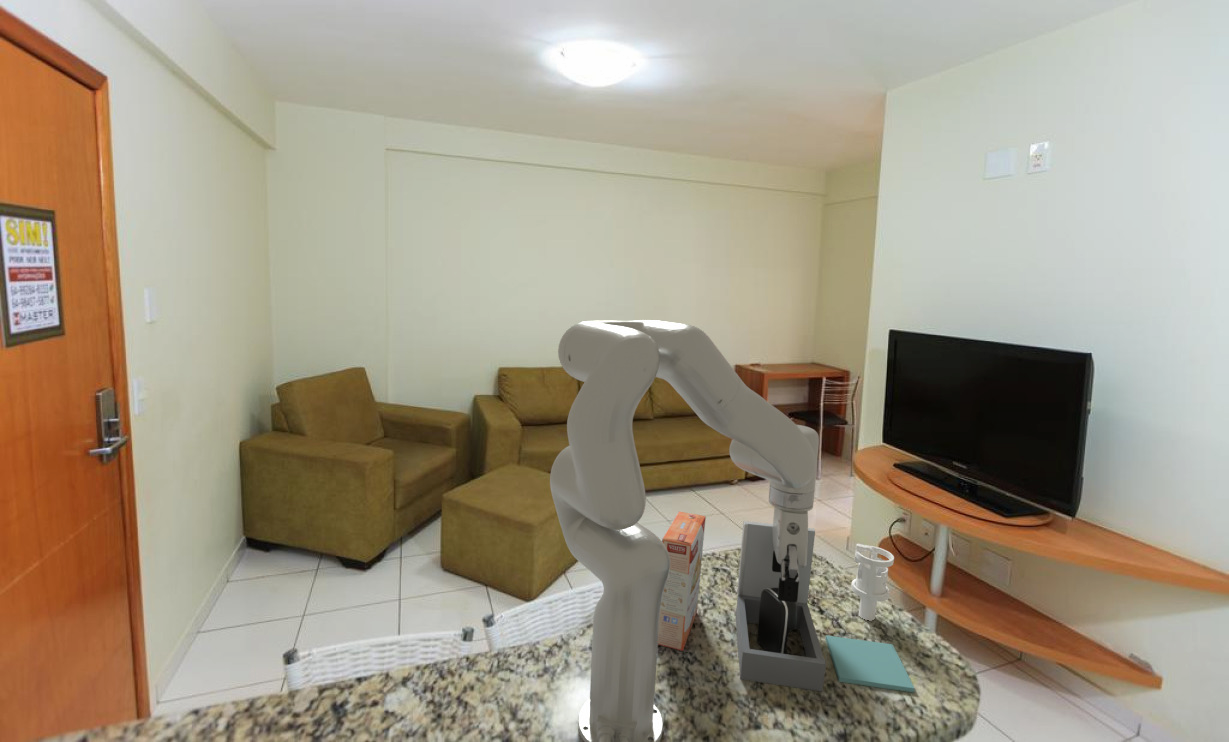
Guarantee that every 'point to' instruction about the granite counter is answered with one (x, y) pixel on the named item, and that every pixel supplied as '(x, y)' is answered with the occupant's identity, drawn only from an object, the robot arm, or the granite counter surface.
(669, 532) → the cracker box
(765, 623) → the battery charger
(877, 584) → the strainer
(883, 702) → the granite counter surface
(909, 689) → the mat
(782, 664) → the case
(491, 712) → the granite counter surface
